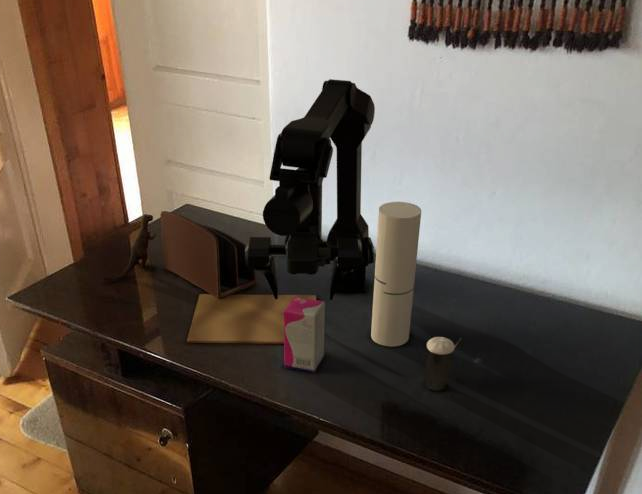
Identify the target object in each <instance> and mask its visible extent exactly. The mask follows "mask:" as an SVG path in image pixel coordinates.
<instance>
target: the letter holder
mask: <svg viewBox="0 0 642 494" xmlns="http://www.w3.org/2000/svg"><path fill="white" fill-rule="evenodd" d="M160 227H161V241H162V243H161V244H162V254H163V266H164V269H165V270H167V271H169V272H171V273H173V274H174V275H176V276H179V277H180V278H181V279H184V280H185V281H187V282H189V283H190V284H192V285H194V286H196V287H197V288H199V289H201V290H203V291H205V292H206V293H207V294H211V295H213V296H215V297H217V298H218V299H221V298H223V297H225V296H228V295H230V294H231V295H234V294H235V293H239V292H240V291H243V290H245V289H248V288H251V287H253V286H255V285H257V274H256V272H257V271H256V270H254V267H248V266H246V265H245V249H246V244H245V243H244V242H242V241H240V240H239V239H237V238H235V237H233V236H232V235H231V234H228V233H226V232H223V230H220V229H217V228H215V227H212V226H210V225H205V224H201V223H199V222H196V221H195V220H192V219H191V218H188V217H186V216H184V215H181V214H178V213H175V212H171V211H167V210H162V211H161V212H160Z"/></svg>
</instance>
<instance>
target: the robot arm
mask: <svg viewBox="0 0 642 494" xmlns="http://www.w3.org/2000/svg"><path fill="white" fill-rule="evenodd" d="M375 108H376V106H375V103H374V101H373V98H372V97H371V95H370V94H369V93H367V92H365V91H363V90H361V89H360V88H358V87H357V85H356V83H355V82H352V81H351V80H342V79H331V78H329V79H328V80H324V81H323V83H322V87H321V91H320V93H319V95H318V96H317V97H316V99H315V100H314V102H313V104H312V105H311V106H310V107H309V109H308V111H307V112H306V114H305V115H304V116H303V117H302V118H298V119H297V118H296V119H294V120H291V121H290V122H289V123H287V125H285V126H284V127H283V128H282V130H281V131H280V133H279V134H278V135H277V138H276V143H275V147H274V152H273V157H272V162H271V167H270V168H271V169H270V173H269V181H272V182H273V181H274V182H278V186H277V187H276V188H275V189H274V195H273V196H271V198H270V199H269V200H268V201H267V202H266V203H265V205H264V207H263V211H262V220H263V222H264V225H265V226H266V227H267V229H268V230H269V231H270V232H271V233H273V234H274V235H277V236H280V237H284V244H272V237H271V236H250V237H249V238H248V239H247V240H246V244H245V245H246V249H245V265H246V266H248V267H254V270H255V272H261V274H263V275H264V277H265V280H266V281H267V283H268V285H269V288H270V291H271V293H272V295H274V298H275V299H278V295H279V286H278V278H277V271H276V263H275V258H286V270H287V273H288V274H289V275H311V276H312V275H313V276H314V275H316V274H317V273H318V272H319V268H320V267H322V268H323V267H325V265H331V277H330V284H329V285H330V286H329V301H333V299H334V297H335V295H336V294H338V293H339V294H340V293H343V294H345V293H347V294H348V293H349V294H354V293H356V294H365V293H366V272H367V267H369V265H371V264H374V263H375V251H374V250H375V246H374V243H373V241H372V238H371V237H370V232H369V224H368V223H367V221H366V220H365V218H364V216H363V215H362V213H361V212H362V211H361V208H362V158H363V157H362V153H363V152H362V151H363V150H362V149H363V148H362V147H363V141H364V139H365V138H366V136H367V135H368V133H369V132H370V131H371V128H372V125H373V123H374V118H375V111H376V109H375ZM332 143H333V145H334V146H335V148H336V219H335V221H334V223H333V224H332V226H331V228H330V229H329V231H328V234H327V237H326V241H324V240H323V238H322V233H323V231H322V230H323V227H322V226H323V181H324V179H327V177H328V173H329V170H330V165H331V163H332V162H331V161H332V157H333V154H334V147H333V145H332ZM282 166H283V167H287V168H282ZM290 168H291V169H290ZM292 168H296V169H292ZM331 262H332V264H331ZM325 268H326V267H325Z"/></svg>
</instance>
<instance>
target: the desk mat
mask: <svg viewBox="0 0 642 494" xmlns="http://www.w3.org/2000/svg"><path fill="white" fill-rule="evenodd" d="M294 297H298V298H305V299H311V300H317V295H316V294H278V299H275V298H274V295H273V294H230V295H228V296H225V297H223V298H221V299H218V298H217V297H215V296H213V295H211V294H210V293H200V294H199V295H198V298H197V302H196V307H195V310H194V313H193V317H192V321H191V325H190V328H189V332H188V336H187V339H186V343H187V344H259V345H260V344H265V345H267V344H268V345H269V344H271V345H274V344H275V345H284V310H285V309H286V308H287V306H288V305H289V304H290V303H291V301H292V300H293V298H294Z"/></svg>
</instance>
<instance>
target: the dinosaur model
mask: <svg viewBox="0 0 642 494" xmlns="http://www.w3.org/2000/svg"><path fill="white" fill-rule="evenodd" d="M140 220H141V222H140V223H141V227H140V229H139V232H138V235H137V236H136V238H135V240H134V241H133V243H132V246H131V248H130V249H131V250H130V251H131V252H130V259H129V261H128V264H127V267H126V268H125V270H123V272H122V273H121V274H119V275H118V276H116V277H112V278H111V277H101V279H102V280H103V281H108V282H115V281H119V280H121V279H123V278H125V277H126V276H127V275H128V274H129V273H130V272H131V271H132V270H133V269H134V268H135V267H136V266H138V268H140V269H141V270H142V269H144V270H145V271H146V270H148V271H150V270H153V268H154V267H153V265H152V264H151V265H150V264H149V263H148V264H146V262H147V260H148V258H149V256H148V254H149V253H148V247H149V241H153V240H154V239H155V237H156V236H157V233H154V234H153V236H151V232H150V231H149V227H148V226H149V223H150V222H152V221H154V216H153V214H147V213H144V214H142V216H141V219H140ZM140 260H141V263H140Z"/></svg>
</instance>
